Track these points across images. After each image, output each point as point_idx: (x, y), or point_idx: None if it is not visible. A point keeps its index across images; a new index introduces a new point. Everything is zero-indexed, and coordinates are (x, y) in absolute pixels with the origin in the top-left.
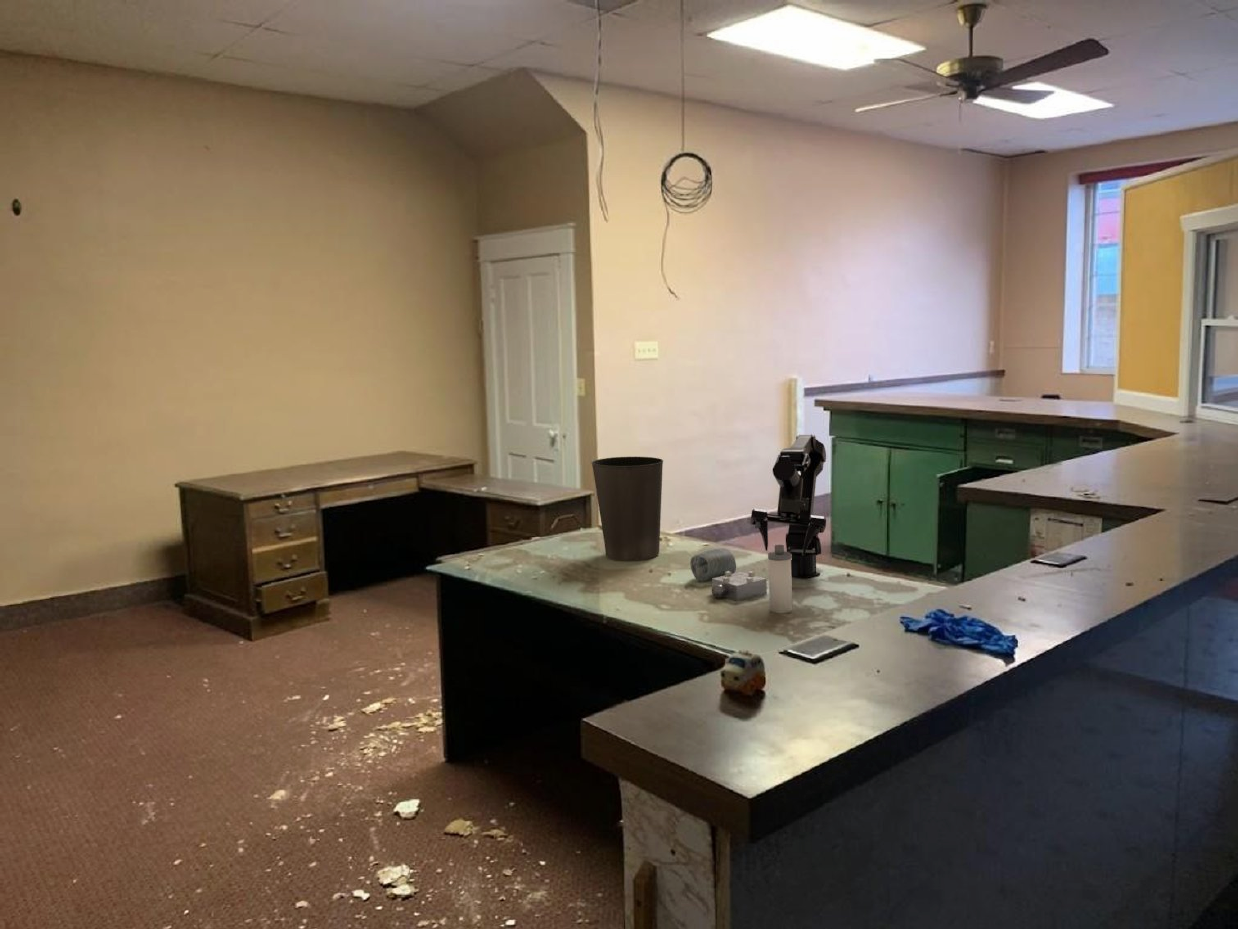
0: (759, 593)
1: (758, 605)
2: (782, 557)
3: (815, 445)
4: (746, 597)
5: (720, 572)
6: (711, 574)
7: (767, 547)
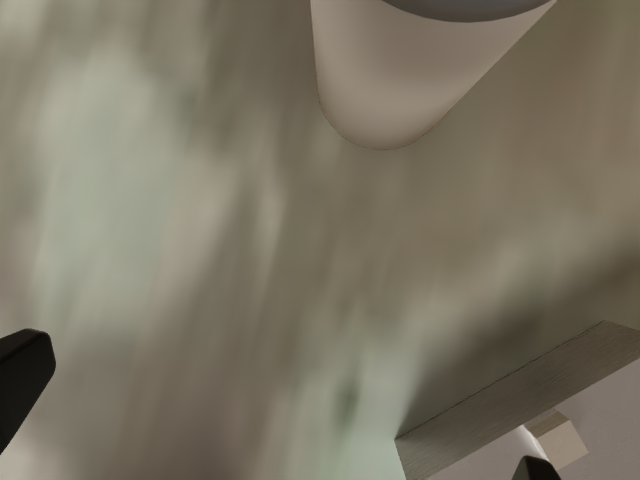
0: (449, 416)
1: (493, 205)
2: None
3: None
4: (542, 361)
5: None
6: None
7: (534, 478)
